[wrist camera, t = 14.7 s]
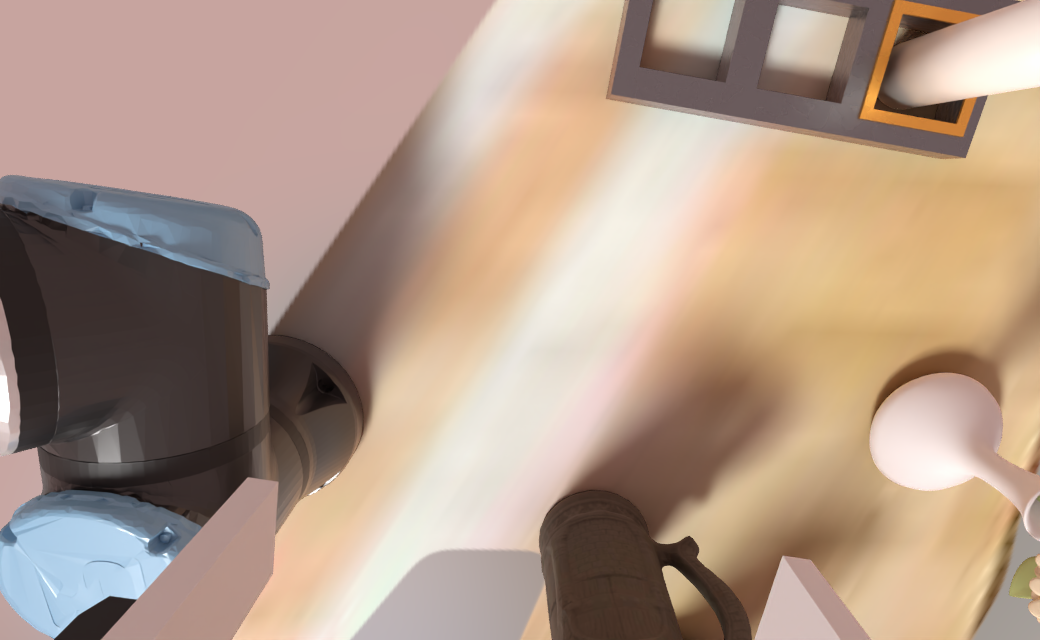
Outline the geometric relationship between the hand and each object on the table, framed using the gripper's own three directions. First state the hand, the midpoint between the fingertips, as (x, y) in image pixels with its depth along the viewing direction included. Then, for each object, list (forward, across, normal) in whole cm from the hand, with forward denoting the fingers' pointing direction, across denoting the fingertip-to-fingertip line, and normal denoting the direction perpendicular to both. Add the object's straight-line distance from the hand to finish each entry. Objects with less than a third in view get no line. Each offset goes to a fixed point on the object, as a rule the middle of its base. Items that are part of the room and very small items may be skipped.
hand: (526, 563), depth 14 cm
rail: (+35, +18, +22) cm, 45 cm away
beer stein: (+35, +13, -22) cm, 43 cm away
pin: (+35, +27, +22) cm, 49 cm away
